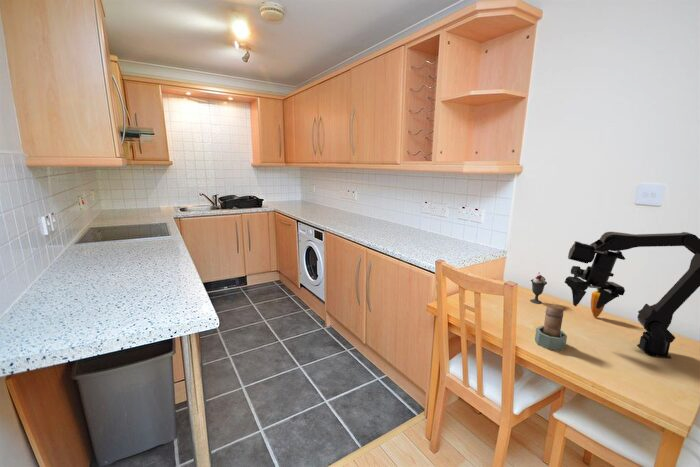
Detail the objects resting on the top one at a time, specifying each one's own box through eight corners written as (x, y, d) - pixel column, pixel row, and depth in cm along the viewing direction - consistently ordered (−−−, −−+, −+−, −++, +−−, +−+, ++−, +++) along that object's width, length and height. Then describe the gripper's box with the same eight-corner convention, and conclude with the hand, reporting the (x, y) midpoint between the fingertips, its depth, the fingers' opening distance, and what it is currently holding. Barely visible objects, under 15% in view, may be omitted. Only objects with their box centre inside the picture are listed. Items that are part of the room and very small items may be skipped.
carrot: (602, 316, 134) (608, 283, 131) (603, 321, 129) (609, 286, 127) (587, 313, 136) (593, 281, 133) (588, 318, 132) (594, 284, 129)
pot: (558, 339, 115) (560, 327, 114) (568, 352, 107) (570, 340, 106) (532, 336, 117) (533, 324, 116) (540, 348, 109) (542, 336, 108)
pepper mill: (549, 337, 115) (554, 304, 112) (562, 345, 110) (567, 310, 108) (538, 339, 114) (542, 306, 111) (550, 347, 109) (556, 312, 106)
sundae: (531, 304, 146) (535, 273, 143) (525, 298, 152) (529, 268, 149) (546, 305, 145) (551, 274, 142) (540, 299, 151) (544, 269, 148)
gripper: (606, 262, 119) (591, 299, 123) (561, 256, 117) (547, 293, 121) (633, 274, 108) (616, 314, 112) (584, 267, 106) (568, 308, 110)
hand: (586, 307), depth 114 cm, fingers open, 9 cm apart
